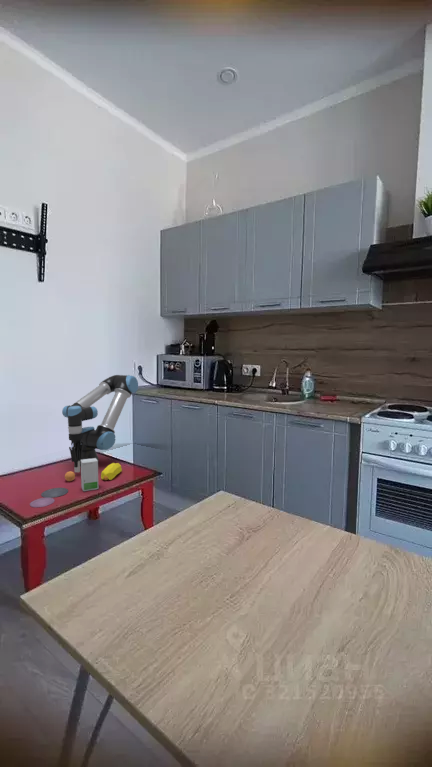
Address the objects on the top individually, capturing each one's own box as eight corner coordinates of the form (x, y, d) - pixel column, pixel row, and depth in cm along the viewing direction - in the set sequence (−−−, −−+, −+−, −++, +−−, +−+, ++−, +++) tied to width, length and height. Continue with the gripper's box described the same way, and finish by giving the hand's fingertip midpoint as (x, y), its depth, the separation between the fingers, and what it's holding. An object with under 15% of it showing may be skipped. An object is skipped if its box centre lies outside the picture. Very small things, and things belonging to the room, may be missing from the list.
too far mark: (37, 497, 187) (37, 497, 187) (58, 498, 186) (58, 497, 186) (24, 507, 176) (24, 506, 176) (47, 507, 175) (47, 507, 175)
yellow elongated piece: (123, 471, 225) (112, 471, 226) (123, 460, 224) (111, 460, 226) (111, 482, 207) (98, 481, 209) (111, 470, 207) (98, 470, 208)
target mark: (49, 487, 200) (49, 487, 200) (72, 488, 199) (72, 487, 199) (35, 497, 187) (35, 497, 187) (60, 498, 186) (60, 497, 186)
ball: (67, 479, 213) (67, 469, 212) (77, 479, 212) (76, 469, 212) (63, 482, 207) (62, 473, 207) (72, 482, 207) (72, 473, 206)
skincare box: (82, 491, 194) (81, 463, 192) (81, 487, 199) (79, 459, 198) (99, 488, 197) (98, 460, 196) (97, 484, 203) (95, 457, 202)
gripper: (74, 430, 223) (76, 468, 225) (63, 435, 210) (65, 475, 212) (86, 430, 222) (88, 468, 225) (76, 435, 210) (78, 475, 212)
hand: (77, 471), depth 219 cm, fingers closed
